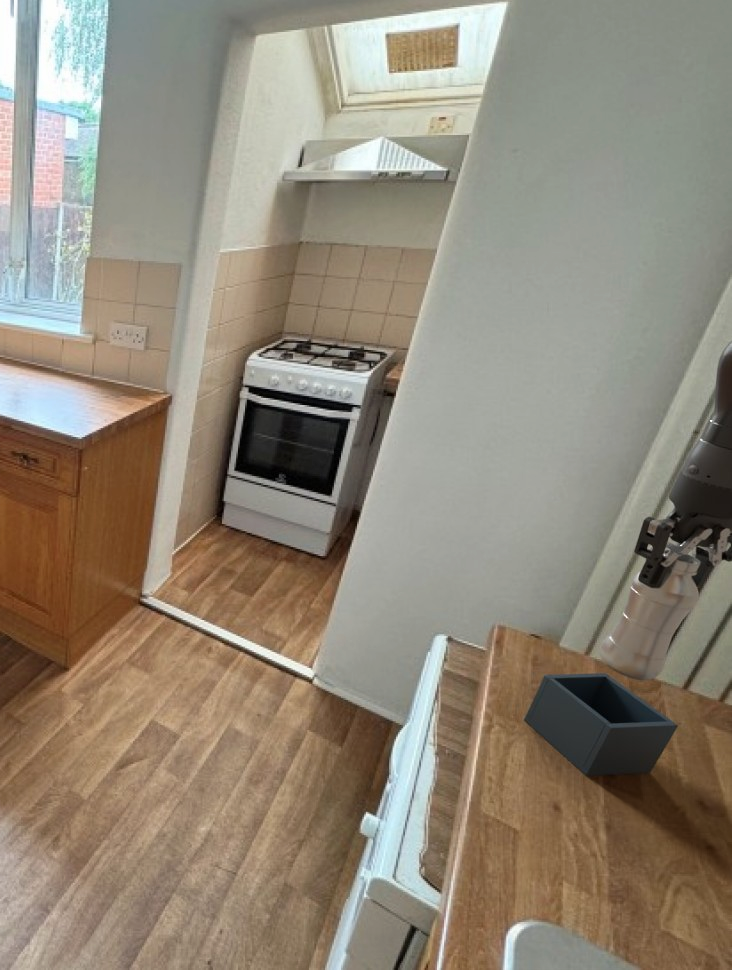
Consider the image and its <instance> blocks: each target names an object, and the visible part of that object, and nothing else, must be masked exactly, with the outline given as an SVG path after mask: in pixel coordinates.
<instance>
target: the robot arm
mask: <svg viewBox="0 0 732 970" xmlns="http://www.w3.org/2000/svg"><path fill="white" fill-rule="evenodd" d="M715 377H716V378H715V386H714V407H713V411H712V413H711V414H710V415H709V418H708V420H707V422H706V424H705V426H704V428H703V430H702V432H701V434H700V437H699V438H698V440H697V441H696V443H695V444H694V446H692V448H691V450H690V451H689V453H688V454H687V457H686V459H685V460H684V463H683V465H682V467H681V469H680V471H679V473H678V475H677V477H676V479H675V481H674V483H673V486H672V488H671V489H670V492H669V494H668V499H669V501H670V502H672V503H673V506H674V508H673V509H672V511H671V512H670V513H669V514H668V515H667V516H665V518H662V519H657V518H655V517H652V516H647V517H646V518H644V519H643V521H642V525H641V528H640V531H639V534H638V537H637V540H636V544H635V547H634V551H633V553H634V554H636V555H638V556H640V557H642V558H644V559H645V562H644V564H643V566H642V568H641V570H640V571H641V572H640V571H639V572H640V574H639V577H638V580H639V581H640V582H641V583H643V584H645V585H646V586H648V587H650V588H659V587H660V586H661V584H662V582H663V580H664V578H665V576H666V574H667V572H668V570H669V568H670V567H669V566H670V565H671V564H672V563H673V562H674V561H675V560H676V559H677V558H678V557H679V556H680V555H687V554H688V555H689V553H690V552H692V554H691V556H693V557H695V558H697V559H698V560H700V562H701V563H700V566H699V568H698V569H697V571H698V572H697V574H696V575H693V576H692V579H693V581H694V582H695V584H696V587H697V588H701V587H703V585H704V583H705V581H706V580H707V578H708V576H709V574H710V573H711V571H712V569H713V567H716V566H719V565H720V564H721V563H722V562H723V561H725V562H729V563H730V562H732V340H731V341H730V342H729V343H728V344H727V345H726V346H725V347H724V349H723V350H722V352H721V354H720V356H719V359H718V363H717V368H716V376H715ZM670 539H671V541H673V542H675V543H677V544H679V545H676V544H674V543H671V542H669V540H670ZM728 544H729V545H730V546H729V547H728ZM649 546H650V547H649ZM666 548H667V549H668V550H670V551H669V552H668V553H667V554H666V556H665V557H664V556H663V554H664V551H665V550H666Z"/></svg>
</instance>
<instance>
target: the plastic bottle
mask: <svg viewBox="0 0 732 970" xmlns="http://www.w3.org/2000/svg"><path fill="white" fill-rule="evenodd" d="M669 551H670V549H665V551H664V554H663V556H664V557H665V556H666V554H667V553H668V552H669ZM700 563H701V562H700V560H698V559H697V558H695V557H694V556H693V555H692V554H689V553H688V554H687V555H680V556H679V557H678V558H677V559H676V560H675V561H674V562H673V563H672V564H671V565H670V566H669V567H670V568H669V570H668V572H667V574H666V576H665V578H664V580H663V582H662V584H661V586H660V587H659V588H650V587H648V586H646V585H645V584H643V583H641V582H640V581H639V580H638V577H639V574H640V572H641V570H640V571H638V573H636V574H635V575H634V576H633V577H632V580H631V582H630V587H629V592H628V596H627V601H626V603H625V606H624V608H623V611H622V614H621V616H620V618H619V620H618V621H617V622H616V624H615V626H614V627H613V629H612V630H611V632H610V633H609V634H607V636H606V637H605V638H604V640H603V641H602V642H601V644H600V649H599V656H600V658H601V660H602V662H603V663H604V665H605V666H607V667H608V668H609V669H611V670H612V671H614V672H616V673H618V674H620V675H622V676H624V677H627V678H630V679H633V680H637V681H650V680H653V679H654V680H655V679H656V678H657V677H658V676H659V675H660V674H661V673H662V672H663V670H664V668H665V663H666V657H667V656H666V655H667V652H668V649H669V647H670V643H671V640H672V638H673V636H674V634H675V633H676V630H677V629H678V628H679V626H680V625H681V623H682V621H683V620H684V619H685V618H686V617H687V615H688V614H689V613H690V612H691V611H692V610H693V608H694V607H695V606H696V605H697V603H698V602H699V599H700V598H699V596H700V593H699V589H698V587H696V584H695V582H694V581H693V579H692V576H693V575H696V574H697V572H698V571H697V569H698V568H699V566H700Z"/></svg>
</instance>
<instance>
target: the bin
mask: <svg viewBox="0 0 732 970" xmlns="http://www.w3.org/2000/svg"><path fill="white" fill-rule="evenodd" d="M523 721H524V722H525V723H526V724H528V726H529V727H531V728H532V729H533V730H534V732H536V733H537V734H539V735H540V736H541V737H542V738H543V739H544V740H545V741H546V742H547V743H548V744H550V745H551V746H552V747H553V748H554V749H555V750H557V752H559V754H561V755H562V756H563V757H564V758H565V759H566V760H568V761H569V762H570V763H571V764H572V765H573V766H574V767H576V769H578V770H579V771H580V772H581V773H582V774H583V775H584V776H586V777H589V776H590V777H591V776H593V777H594V776H614V775H615V776H616V775H618V776H619V775H637V774H651V773H652V771H653V769H654V768H655V766H656V764H657V763H658V761H659V759H660V757H661V756H662V754H663V752H664V751H665V749H666V748H667V745H668V744H669V742H670V741H671V739H672V737H673V736H674V734H675V732H676V730H677V728H678V727H679V724H677V723H676V722H674V720H672V719H670V718H669V717H668V716H666V715H665V714H663V713H661V712H660V711H659V710H657V709H656V708H654V707H653V706H652V705H651V704H650V703H648V702H646V701H645V700H644V699H642V698H641V697H640V696H638V695H636V694H635V693H634V692H632V691H631V690H630V689H628V688H626V686H624V685H622V684H621V683H620V682H618V681H617V680H616V679H614V678H613V677H611V676H610V675H608V673H606V672H595V673H593V672H591V673H568V674H567V673H564V674H563V673H562V674H561V673H560V674H544V675H543V678H542V680H541V682H540V684H539V686H538V688H537V690H536V692H535V695H534V697H533V699H532V702H531V703H530V706H529V708H528V710H527V713H526V715H525V717H524V718H523Z"/></svg>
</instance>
